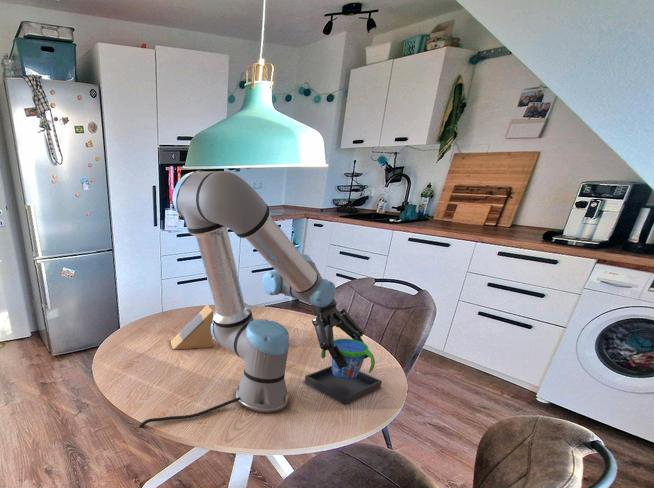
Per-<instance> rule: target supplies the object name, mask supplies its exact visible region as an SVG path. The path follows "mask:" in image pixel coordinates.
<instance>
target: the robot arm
mask: <svg viewBox="0 0 654 488" xmlns="http://www.w3.org/2000/svg"><path fill="white" fill-rule="evenodd" d="M172 204H173V207H174V210H175V212H176V213H177V214H178V215H179V216H180V217H181V218H182V219H184V222H185V224H186V225H185V226H186V228H187V231H188V233H189V235H191V236H194V237H195V239H196V242H197V245H198V250H199V253H200V257H201V260H202V264H203V268H204V271H205V275H206V278H207V282H208V287H209V289H210V293H211V296H212V301H213V303H214V308H215V311H213V320H212V321H213V323H211V334H212V339H213V340H214V341H215V342H216V343H217V344H218V345H219V346H220V347H221V348H223V349H226V350H228V351H229V352H231V353H232V354H234V355H236V356H237V357H238V358H241V360H243V363H244V366H243V374H242V377H241V379H240V381H239V383H238V386H237V388H236V391H235V398H232V399H230V400H228V401H225V402H222V403H220V404H218V405H215V406H213V407H210V408H207V409H205V410H202V411H199V412H196V413H191V414H186V415H185V414H184V415H172V416H164V417H153V418H148V419H146V420H144V421H143V422H141V423H140V424H139V425H138V429H141V428H143V427H144V426H145V425H146V424H149V423H154V422H164V421H171V420H185V419H192V418H197V417H200V416H203V415H205V414H209V413H211V412H213V411H216V410H218V409H221V408H223V407H226V406H229V405H231V404H233V403H236V402H237V403H238V404H239V405H240V406H242V407H243V408H245V409H247V410H249V411H252V412H255V413H261V414H262V413H263V414H272V413H276V412H279V411H283V410H284V409H286V407H287V406H288V404H289V396H290V395H289V391H288V390H287V385H286V379H285V375H286V368H287V361H288V356H289V355H288V353H289V347H290V334H289V331H288V329H287V328H286V327H285V326H284V325H282V324H281V323H279V322H277V321H274V320H268V319H266V318H265V319H264V318H258V319H254V315H253V311H252V308H251V306H250V305H249V304H248V303H246V302H245V301H244V296H243V291H242V287H241V282H240V278H239V274H238V269H237V264H236V260H235V256H234V253H233V248H232V247H233V246H232V244H231V239H230V238H231V237H230V235H229V231H228V229H229V230H230V231H232V232H233V233H234V234H235V235H236V236H237V237H238V238H240V239H246V241H248V242H249V244H250V245H251V246H252V247H253V248H254V249H255V250H256V252H258V253H259V254H260V256H261V257H262V258H263V259H264V260H265V261H266V262H267V263H268V264H269V265H270V267H271V268H273V269H272V270H270V271H267V272H266V273H264V274H263V276H262V288H263V290H264V292H265V293H266V294H267V295H268V296H279V295H281V294H282V295H285V296H288V297H291V298H293V299H296V300H298V301H302V302H305V303H307V304H308V305H309V309H310V310H311V312H312V314H313V315H314V316H316V317H314V318H313V319H311V323H312V325H313V327H314V329H315V334H316V336H317V337H316V338H317V341H318V344H319V348H320V349H321V350H322V349H324V350H325V351H326V352H327V351H328V354H329V355H330V356H331V357H330V358H331V359H332V358H333V359H334V360H335V362H336V364H337V366H338V368H339V369H341V368H343V367H345V366H347V363H346V361H345V360H344V358H343V356H342V354H341V352H340V351H339V349H338V347H337V346H335V347H334V340H335V339H334V327H336V328H339V329H340V330H341V331H342V332H344V333H345V334H346V335H347V336H348V337H350V339H353V340H357V341H360V342H362V343H364V344H365V342H364V341H363V338H362V337H363V336H364V331H363V329H362V328H361V327H360V326H359V325H358V324H357V322H356V321H355V320H354V319H353V318H352V317H351V316H350V314H349V313H348V311H347V309H345V308H342V309H341V310H339V309H338V308H337V305H338V303H337V301H336V299H335V297H336V293H337V288H336V284H335V283H334V282H333V281H330V280H328V279H326V278H323V277H322V274H321V273H320V272H319V270H318V268H317V266H316V263H315V262H314V261H313V259H311V257H310V256H309V255H308V254H306V253H305V254H304V253H303V254H302V253H301V252H300V250H299V249H298V248H297V247H296V246H295V244H294V243H293V242H292V240H290V239H289V238H290V237H288V236H287V235H286V233H285V232H284V230H282V229H281V227H280V226H279V225H278V224H277V222H276V221H275V220H274V219H273V218H272V216H271V208H270V206H269V205H268V204H267V202H266V201H265V200H264V199H263V198H262V196H260V195H259V193H258V192H257V191H256V190H255V189H254V188H253V187H252V186H251V185H250V184H249V183H248V182H247V181H245V180H244V179H243V178H242V177H240V176H239V175H237V174H235V173H233V172H231V171H226V170H218V171H216V170H214V171H213V170H212V171H208V170H207V171H205V170H196V171H192V172H188V173H185V174H184V175H183V176H182V177H181V178H180V179H178V181H177V182H176V185H175V187H174V189H173V192H172ZM368 358H370V357H369V356H367V355H366V356H365V358H364V360H366V359H368Z"/></svg>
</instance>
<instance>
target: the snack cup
mask: <svg viewBox="0 0 654 488" xmlns="http://www.w3.org/2000/svg"><path fill="white" fill-rule="evenodd" d="M335 346H337V347H338V349H339V351H340V352H341V354H342V356H343V358H344V360H345V361H346V363H347V366H345V367H343V368H341V369H339V368H338V366H337V364H336V362H335V360H334V359H333V358H332V357H331V366H332V373H333V374H334V375H335V376H337V377H339V378H343V379H346V380H347V379H353V378H356V377H357V376H358V374H359V371H360V372H361V369H362V366H363V363H364V361H365V359H366V358H365V356H366V355H367V356H369V357H368V358H369V359H370V367H369V370H368V374H371V373H372V372H373V370H374V368H375V365H376V360H375V356H374V354H373V353H372V352H371V350H369V345H367V344H366V343H365V342H364V343H362V342H360V341H357V340H353V339H352V338H337V339H334V347H335ZM326 352H327V351H325V350H324V349H321V354H320V357H321V359H325V358H326V357H327V354H326ZM364 358H365V359H364Z"/></svg>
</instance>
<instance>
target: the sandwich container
mask: <svg viewBox="0 0 654 488" xmlns="http://www.w3.org/2000/svg"><path fill="white" fill-rule="evenodd" d="M213 314H214V310H213V309H212V308H211V305H209V303H207V304H206V305H205V306H204V307H203V308H202V309H201V310H200V311H199V313H198V314H196V315H195V316H194V318H192V319H191V320H190V321H189V323H187V325H185V326H184V328H182V329H181V331H179V332H178V333H177V334H176V335H175V336H174V337H173V338H172V339H171V340H170V345H171V347H172V349H173V350H189V349H203V348H204V349H205V348H212V347H213V336H212V334H211V323H213V321H212V320H213Z"/></svg>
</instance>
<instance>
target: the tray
mask: <svg viewBox="0 0 654 488" xmlns="http://www.w3.org/2000/svg"><path fill="white" fill-rule="evenodd" d="M382 382H383V381H382V380H380V379H378V378H377V377H375V376H371V375H370V374H367V373H364V372H362V371H361V370H360V371H359V374H358V376H357V377H356V378H353V379H347V380H346V379H343V378H339V377H337V376H335V375H334V374H333V373H332V365H330V366H327V367H325V368H323V369H322V368H321V369H320V370H317V371H314V372H312V373H309V374H307V375H305V377H304V383H305V384H306V385H308V386H310V387H312V388H313V389H316V390H317V391H319V392H321V393H323V394H325V395H327V396H329V397H330V398H333V399H335V400H336V401H338V402H340V403H342V404H344V405H347V404H350V403H352V402H354V401H356V400H359V399H360V398H362V397H365V396H366V395H368V394H371V393H372V392H375V391H377V390H379V389H381V386H382Z"/></svg>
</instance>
